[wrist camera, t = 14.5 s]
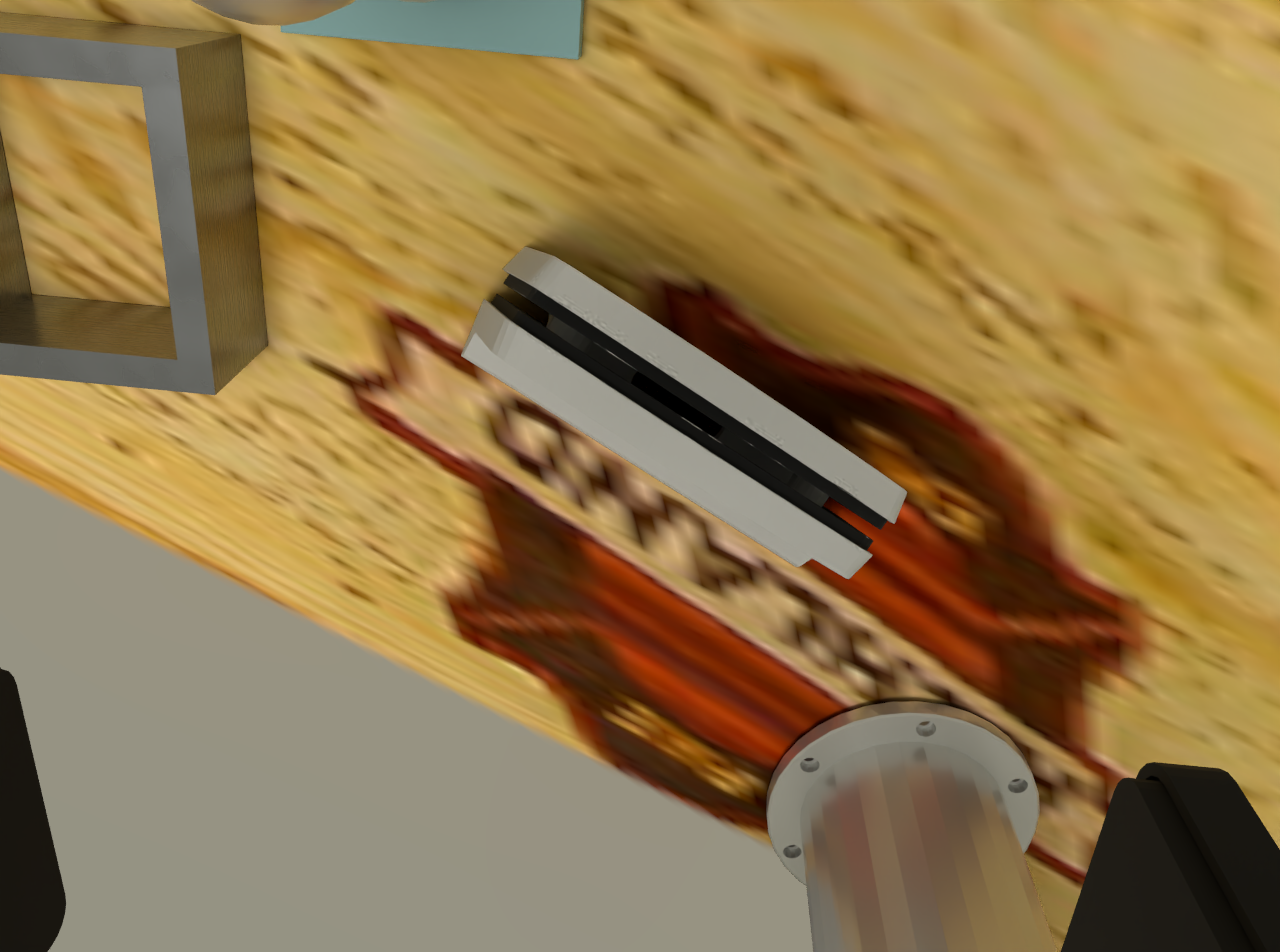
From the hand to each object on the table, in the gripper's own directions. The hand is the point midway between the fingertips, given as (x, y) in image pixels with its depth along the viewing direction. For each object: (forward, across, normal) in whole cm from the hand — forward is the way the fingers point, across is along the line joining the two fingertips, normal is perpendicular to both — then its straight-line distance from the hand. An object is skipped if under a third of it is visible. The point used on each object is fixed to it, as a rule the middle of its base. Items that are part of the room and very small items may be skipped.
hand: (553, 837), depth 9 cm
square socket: (+32, +21, +2) cm, 38 cm away
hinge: (+33, -1, +8) cm, 34 cm away
